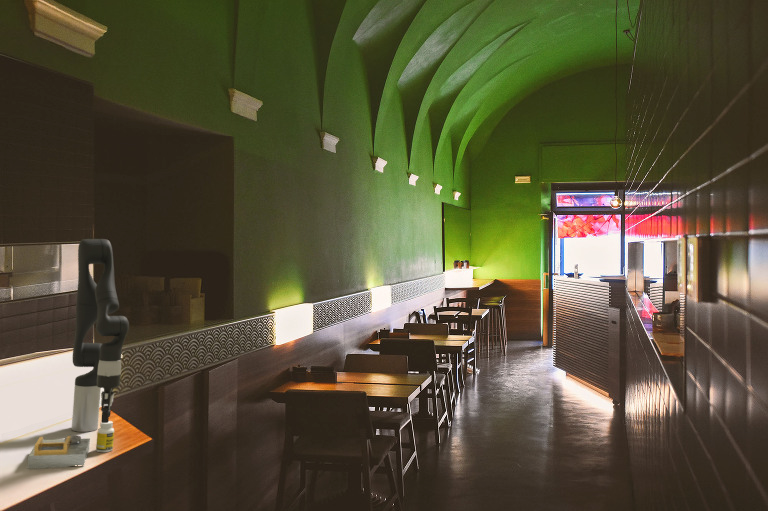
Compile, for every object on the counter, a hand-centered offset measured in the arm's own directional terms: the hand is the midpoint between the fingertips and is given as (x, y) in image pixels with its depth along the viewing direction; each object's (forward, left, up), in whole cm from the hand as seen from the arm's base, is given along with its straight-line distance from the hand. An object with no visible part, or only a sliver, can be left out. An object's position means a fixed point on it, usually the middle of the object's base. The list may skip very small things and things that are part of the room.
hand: (105, 419), depth 222 cm
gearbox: (+8, -13, -11) cm, 18 cm away
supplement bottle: (0, 0, -11) cm, 11 cm away
